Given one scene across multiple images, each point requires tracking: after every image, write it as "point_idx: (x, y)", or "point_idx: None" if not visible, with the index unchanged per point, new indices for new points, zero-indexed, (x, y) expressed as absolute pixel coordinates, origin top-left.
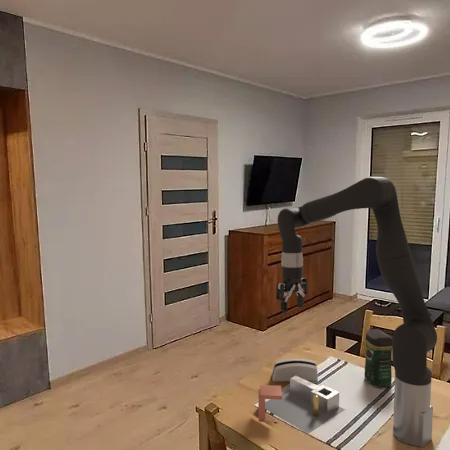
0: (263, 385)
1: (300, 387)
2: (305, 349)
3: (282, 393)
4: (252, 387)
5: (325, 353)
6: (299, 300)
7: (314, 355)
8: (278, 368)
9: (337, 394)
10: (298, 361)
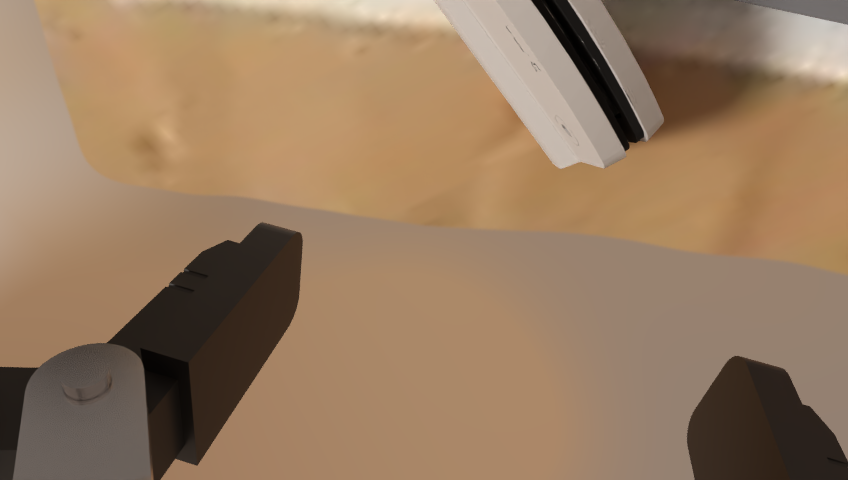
0: None
1: None
2: (160, 153)
3: (757, 1)
4: (730, 192)
5: (111, 37)
6: (238, 355)
7: (179, 80)
8: (658, 114)
9: None
10: (545, 15)
